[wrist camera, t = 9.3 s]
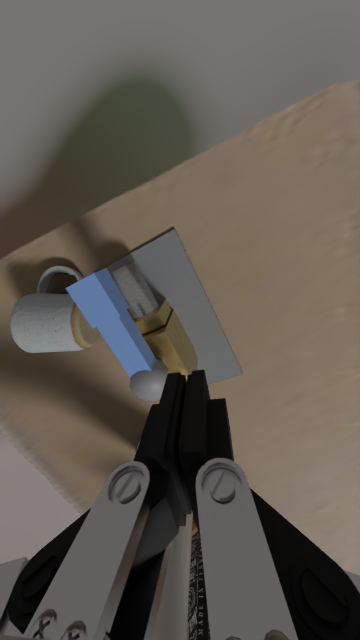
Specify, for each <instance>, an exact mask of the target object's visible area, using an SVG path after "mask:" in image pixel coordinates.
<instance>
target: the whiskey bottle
mask: <svg viewBox="0 0 360 640" xmlns="http://www.w3.org/2000/svg"><path fill="white" fill-rule="evenodd" d="M187 640H211V638H210V628H209V618H208V608H207V598H206V587H205V577H204V567H203V557H202V547H201V536H200V535H199V533H198V530H197V526H196V523H195V519H194V516H193V523H192V542H191V562H190V580H189V600H188V625H187Z"/></svg>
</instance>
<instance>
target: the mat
mask: <svg viewBox="0 0 360 640" xmlns="http://www.w3.org/2000/svg"><path fill="white" fill-rule="evenodd" d="M133 261H135V263H136V265H137V266H138V268H139V270H140V272H141V274H142V275H143V277H144V279H145V281H146V283H147V284H148V286H149V288H150V290H151V292H152V293H153V295H154V297H155V299H156V301H157V302H159V301H161V300H164V299H167V301H168V303H169V304H170V306H171V308H172V309H171V310H173V309H174V311H175V313H176V314H177V316H178V318H179V320H180V322H181V324H182V326H183V328H184V329H185V331H186V333H187V335H188V337H189V339H190V341H191V343H192V344H193V346H194V351H195V353H196V355H197V357H198V367H197V370H205V375H206V380H207V385H209V384H212V383H215V382H218V381H221V380H224V379H228V378H231V377H234V376H237V375H240V374H243V372H242V370H241V368H240V366H239V364H238V362H237V360H236V357H235V355H234V353H233V351H232V349H231V347H230V345H229V343H228V340H227V338H226V336H225V334H224V332H223V330H222V328H221V326H220V323H219V321H218V319H217V317H216V315H215V313H214V311H213V309H212V306H211V304H210V302H209V300H208V298H207V296H206V294H205V292H204V289H203V287H202V285H201V283H200V281H199V279H198V277H197V275H196V272H195V270H194V268H193V266H192V264H191V262H190V260H189V258H188V256H187V253H186V251H185V249H184V247H183V245H182V243H181V241H180V239H179V236H178V234H177V232H176V230H175V229H174V230H172V231H170V232H168V233H166V234H165V235H163V236H161V237H159V238H157V239H156V240H154V241H152V242H150V243H148V244H147V245H145V246H143V247H141V248H139V249H138V250H136V251H134V252H132V253H130V254H129V255H127V256H125V257H123V258H121V259H120V260H118V261H116V262H114V263H112V264H111V265H109V266H107V267H105V268H107V270H108V272H109V273H112V272H114V271H116V270H118V269H119V268H121V267H123V266H125V265H127V264H129V263H131V262H133ZM105 268H103V269H105ZM103 269H102V270H103ZM127 311H128V312H129V314H130V316H132V314H131V313H130V311H129V309H127Z"/></svg>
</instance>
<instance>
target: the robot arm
mask: <svg viewBox="0 0 360 640" xmlns="http://www.w3.org/2000/svg"><path fill="white" fill-rule="evenodd" d="M193 516H194V519H195V523H196V526H197V530H198V533H199V535H200V536H201V547H202V557H203V567H204V577H205V587H206V598H207V608H208V618H209V628H210V638H211V640H360V576H359V575H356V574H353V573H350V572H347V571H344V570H342V569H341V567H340V566H339V565H338V564H337V563H336V562H334V561H333V560H332V559H331V558H330V557H329V556H328V555H326V554H325V553H324V552H323V551H322V550H321V549H320V548H318V547H317V546H316V545H315V544H314V543H313V542H311V541H310V540H309V539H308V538H307V537H306V536H305V535H303V534H302V533H301V532H300V531H299V530H298V529H297V528H295V527H294V526H293V525H292V524H291V523H290V522H288V521H287V520H286V519H285V518H284V517H283V516H282V515H280V514H279V513H278V512H277V511H276V510H275V509H274V508H272V507H271V506H270V505H269V504H268V503H267V502H265V501H264V500H263V499H262V498H261V497H260V496H259V495H257V494H256V493H255V492H254V491H253V490H252V489H251V488H250V487H249V484H248V481H247V478H246V476H245V474H244V472H243V470H242V469H241V467H240V466H239V465H238V464H237V463H235V462H234V457H233V449H232V441H231V433H230V426H229V419H228V412H227V406H226V400H225V398H223V399H212V400H210V396H209V390H208V385H207V380H206V375H205V370H195V371H192V374H188V376H187V381H186V377H185V375H181V373H180V372H176V373H168V374H167V377H166V381H165V384H164V388H163V392H162V395H161V399H160V402H159V404H153V405H152V406H151V408H150V412H149V415H148V418H147V421H146V424H145V427H144V430H143V433H142V436H141V439H140V441H139V443H138V446H137V452H136V455H135V458H134V461H130V462H127V463H124V464H122V465H121V466H119V467H118V468H116V469H115V470H114V471H113V472H112V473H111V474H110V476H109V477H108V479H107V480H106V482H105V484H104V486H103V488H102V490H101V491H100V493H99V495H98V497H97V499H96V501H95V503H94V504H93V506H92V508H90V509H89V510H88V511H87V512H86V513H84V514H83V515H82V516H81V517H80V518H78V519H77V520H76V521H75V522H73V523H72V524H71V525H70V526H69V527H67V528H66V529H65V530H64V531H63V532H62V533H60V534H59V535H58V536H57V537H56V538H54V539H53V540H52V541H51V542H49V543H48V544H47V545H46V546H45V547H44V548H42V549H41V550H40V551H39V552H38V553H37V554H36V555H35V556H34V557H33V558H32V559H31V560H28V559H27V558H26V557H23V558H20V559H16V560H13V561H10V562H6V563H3V564H0V640H187V625H188V600H189V580H190V562H191V542H192V523H193Z"/></svg>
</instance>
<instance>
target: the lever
mask: <svg viewBox="0 0 360 640" xmlns="http://www.w3.org/2000/svg"><path fill="white" fill-rule="evenodd" d="M66 290H67V291H68V293H69V294H70V296H71V297H72V299H73V300H74V302H75V303H76V305H77V306H78V308H79V309H80V311H81V312H82V314H83V315H84V317H85V318H86V320H87V321H88V323H89V324H90V326H91V327H92V329H93V328H95V327H97V328H98V330H99V331H100V333H101V335H102V336H103V338H104V339H105V341H106V342H107V344H108V345H109V347H110V348H111V350H112V351H113V353H114V354H115V356H116V357H117V359H118V360H119V362H120V363H121V365H122V366H123V368H124V369H125V371H126V372H127V374H128V375H129V377H130V378H131V381H130V388H131V390H132V392H133V393H134V394H135V395H136V396H137V397H139V398H140V399H143V400H146V401H156V400H159V399H160V398H161V395H162V392H163V388H164V384H165V381H166V377H167V374H168V373H170V372H169V369H168V367H167V366H166V365H165V364H164V363H163V362H161V361H159V360H157V359H156V358H155V356H154V355H153V353H152V351H151V350H150V348H149V346H148V344H147V343H146V341H145V339H144V338H143V336H142V334H141V333H140V331H139V329H138V328H137V326H136V324H135V323H134V321H133V319H132V317H131V316H130V314H129V312H128V311H127V309H128V308H129V306H128V304H127V302H126V301H125V299H124V297H123V295H122V294H121V292H120V290H119V289H118V287H117V285H116V284H115V282H114V280H113V278H112V277H111V275H110V273H109V272H108V270H107V268H105V269H103V270H100V271H98V272H95V273H93V274H91V275H89V276H87V277H86V278H84V279H82V280H80V281H78V282H76V283H74V284H72V285H70V286H69V287H67V288H66Z"/></svg>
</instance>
